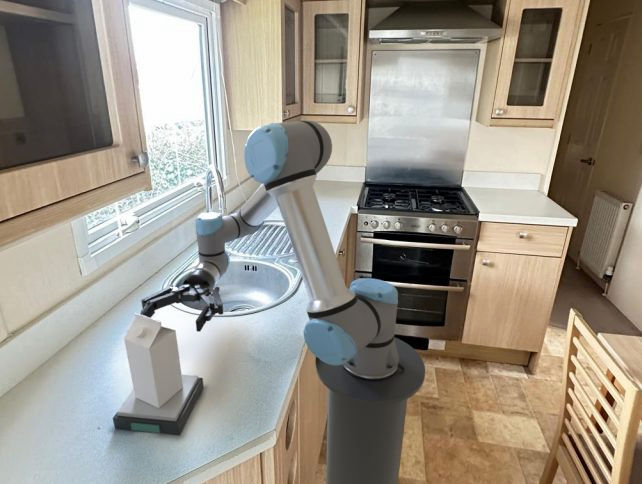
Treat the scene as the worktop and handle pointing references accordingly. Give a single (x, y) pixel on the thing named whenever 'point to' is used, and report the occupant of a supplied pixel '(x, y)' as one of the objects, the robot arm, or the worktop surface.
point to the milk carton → (153, 360)
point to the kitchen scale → (160, 410)
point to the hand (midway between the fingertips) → (168, 324)
